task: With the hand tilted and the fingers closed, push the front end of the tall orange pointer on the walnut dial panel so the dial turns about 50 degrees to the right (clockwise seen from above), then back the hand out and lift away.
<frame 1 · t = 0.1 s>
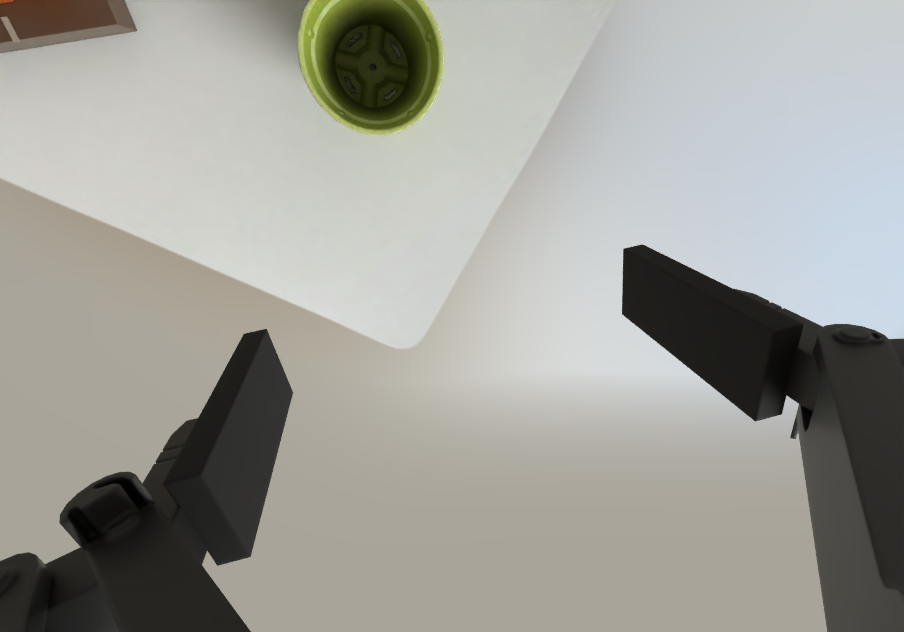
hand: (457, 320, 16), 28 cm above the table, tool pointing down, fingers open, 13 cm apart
plant pot: (371, 68, 36), on the table
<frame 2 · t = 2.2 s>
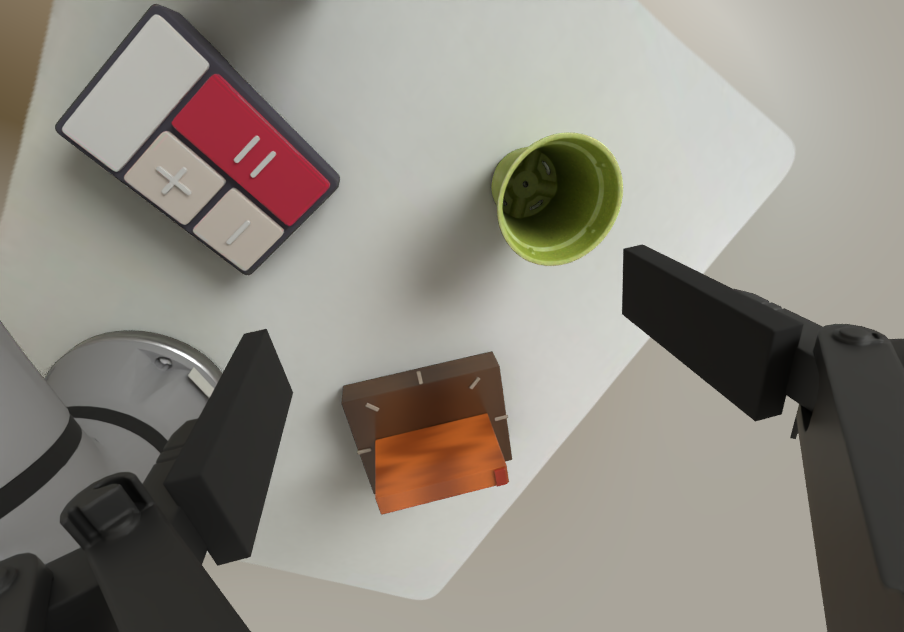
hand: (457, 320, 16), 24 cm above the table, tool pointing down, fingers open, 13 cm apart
plant pot: (523, 184, 39), on the table
pointer: (438, 460, 42), point 7 cm above the table, hinge at 0.0°
calculator: (222, 153, 34), on the table
dial panel: (430, 415, 48), on the table
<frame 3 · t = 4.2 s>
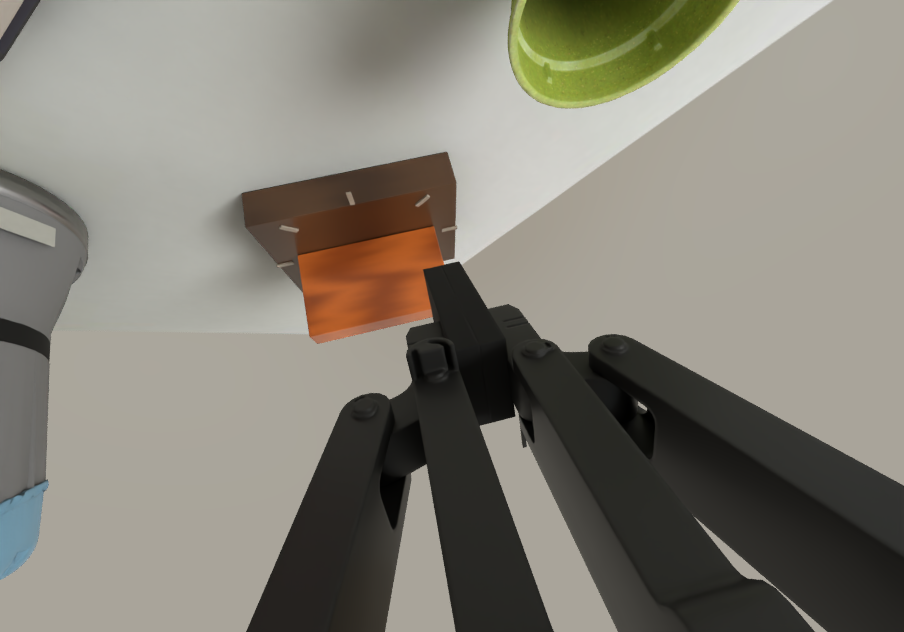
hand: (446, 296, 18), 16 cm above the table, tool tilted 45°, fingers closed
pointer: (376, 285, 37), point 7 cm above the table, hinge at 0.0°
dial panel: (362, 217, 39), on the table
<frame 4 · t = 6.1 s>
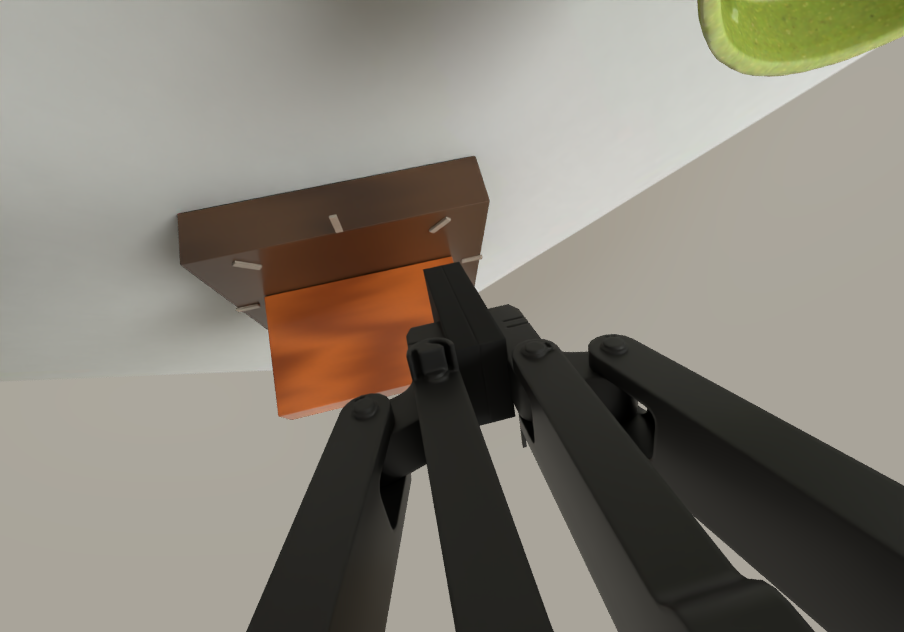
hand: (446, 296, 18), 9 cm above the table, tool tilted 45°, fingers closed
pointer: (373, 337, 27), point 7 cm above the table, hinge at 0.0°
dial panel: (354, 242, 29), on the table
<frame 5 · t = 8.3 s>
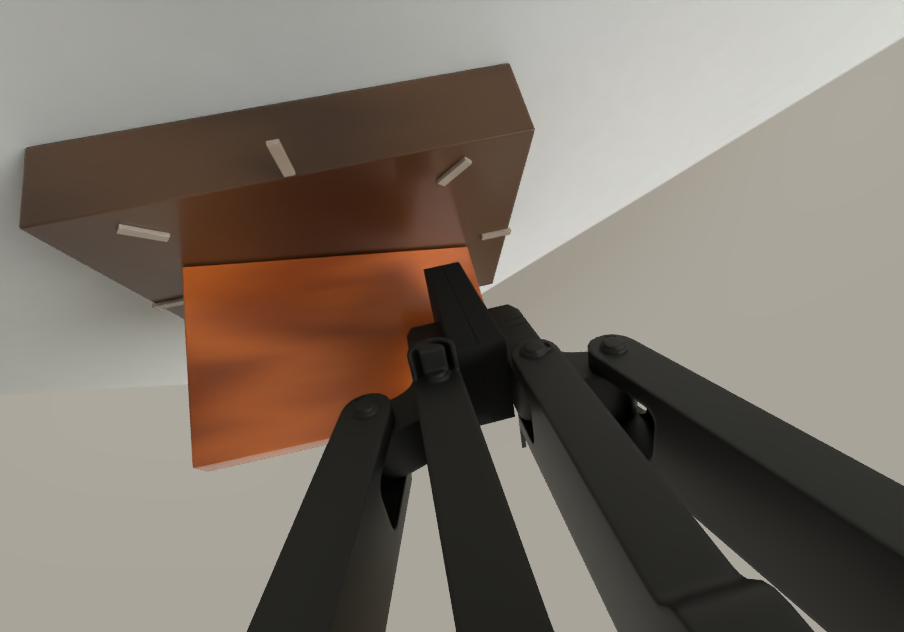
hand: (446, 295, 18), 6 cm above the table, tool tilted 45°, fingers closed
pointer: (354, 347, 18), point 7 cm above the table, hinge at -16.5°, touching gripper
dial panel: (329, 210, 20), on the table
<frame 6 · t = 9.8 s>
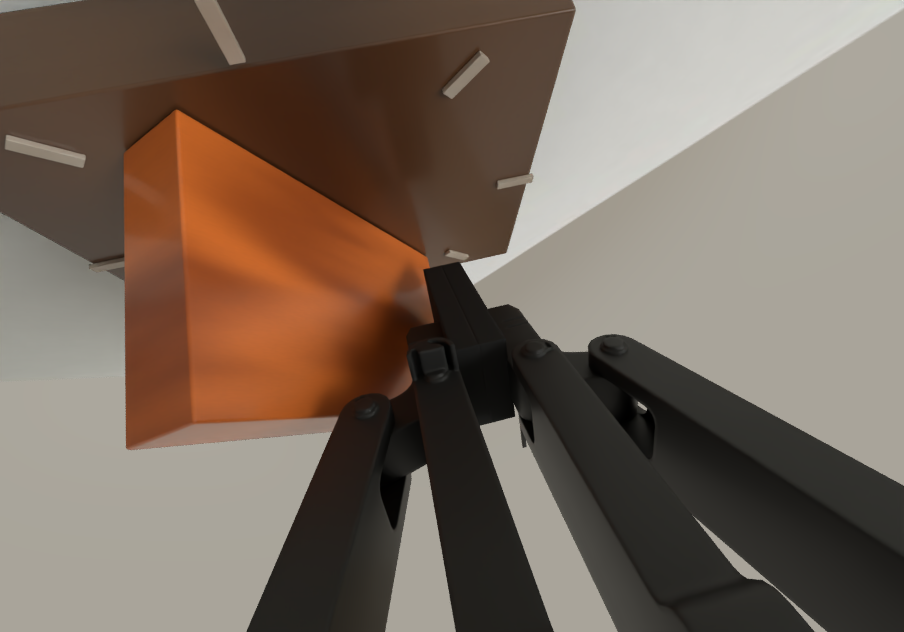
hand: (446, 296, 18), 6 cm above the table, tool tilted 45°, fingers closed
pointer: (338, 317, 15), point 7 cm above the table, hinge at -62.0°, touching gripper
dial panel: (310, 153, 17), on the table
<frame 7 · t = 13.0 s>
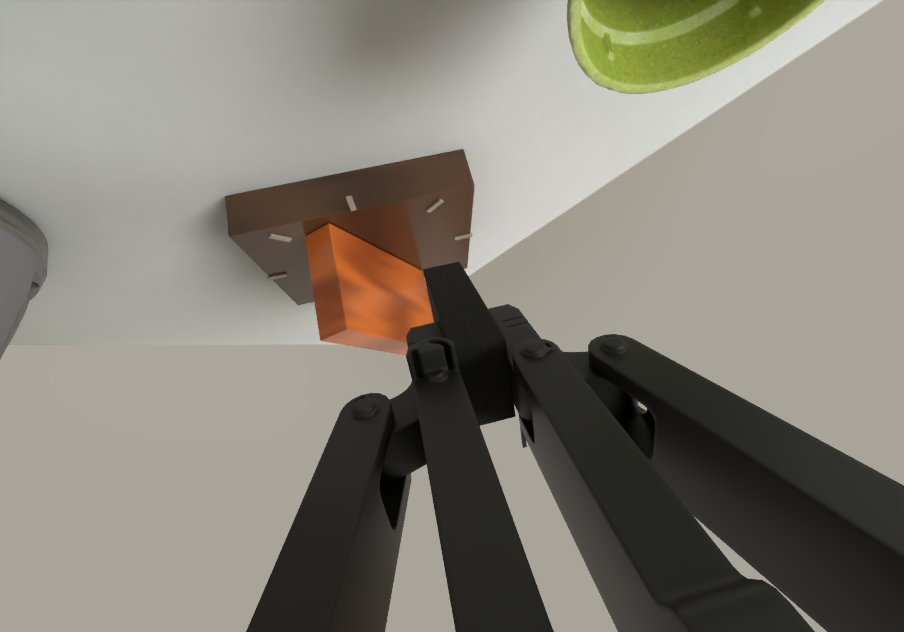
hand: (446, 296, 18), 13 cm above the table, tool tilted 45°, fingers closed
pointer: (381, 300, 33), point 7 cm above the table, hinge at -62.0°
dial panel: (365, 222, 35), on the table
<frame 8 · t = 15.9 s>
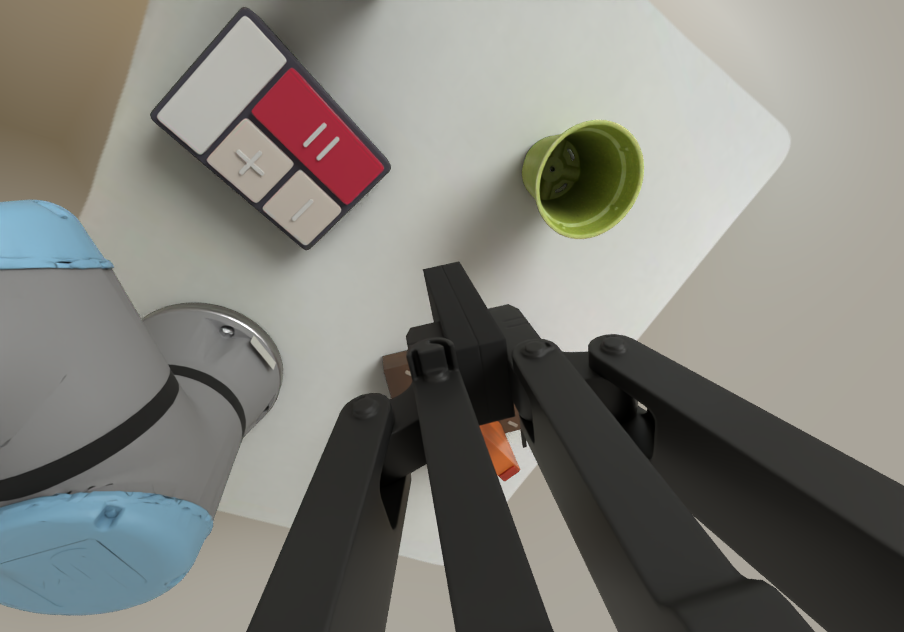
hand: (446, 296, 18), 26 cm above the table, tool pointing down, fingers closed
plant pot: (549, 169, 43), on the table
pointer: (472, 422, 46), point 7 cm above the table, hinge at -62.0°
calculator: (285, 140, 38), on the table
dial panel: (459, 385, 52), on the table
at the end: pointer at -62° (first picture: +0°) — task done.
